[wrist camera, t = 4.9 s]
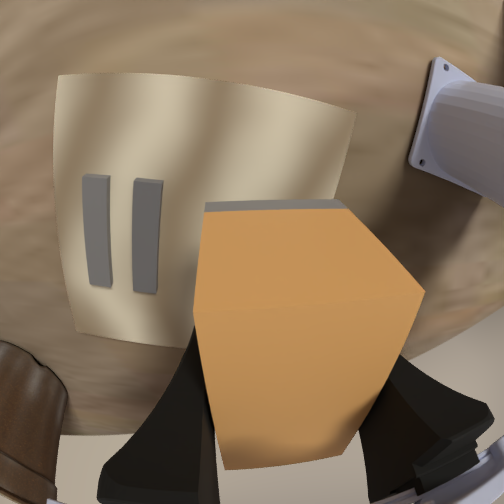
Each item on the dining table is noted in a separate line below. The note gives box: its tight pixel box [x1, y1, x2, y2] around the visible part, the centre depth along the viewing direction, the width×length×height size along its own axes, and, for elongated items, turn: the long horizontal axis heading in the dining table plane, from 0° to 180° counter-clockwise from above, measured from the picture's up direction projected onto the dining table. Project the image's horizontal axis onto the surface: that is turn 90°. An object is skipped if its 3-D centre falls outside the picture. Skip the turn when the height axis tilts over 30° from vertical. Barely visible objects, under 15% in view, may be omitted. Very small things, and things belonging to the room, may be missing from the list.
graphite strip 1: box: [82, 174, 113, 287], centre depth 16 cm, size 2×7×1 cm, turn 169°
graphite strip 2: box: [132, 178, 164, 294], centre depth 16 cm, size 2×7×1 cm, turn 168°
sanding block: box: [193, 199, 425, 470], centre depth 10 cm, size 5×9×6 cm, turn 0°
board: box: [53, 73, 357, 349], centre depth 17 cm, size 16×18×2 cm
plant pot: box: [0, 341, 67, 504], centre depth 18 cm, size 16×16×16 cm
